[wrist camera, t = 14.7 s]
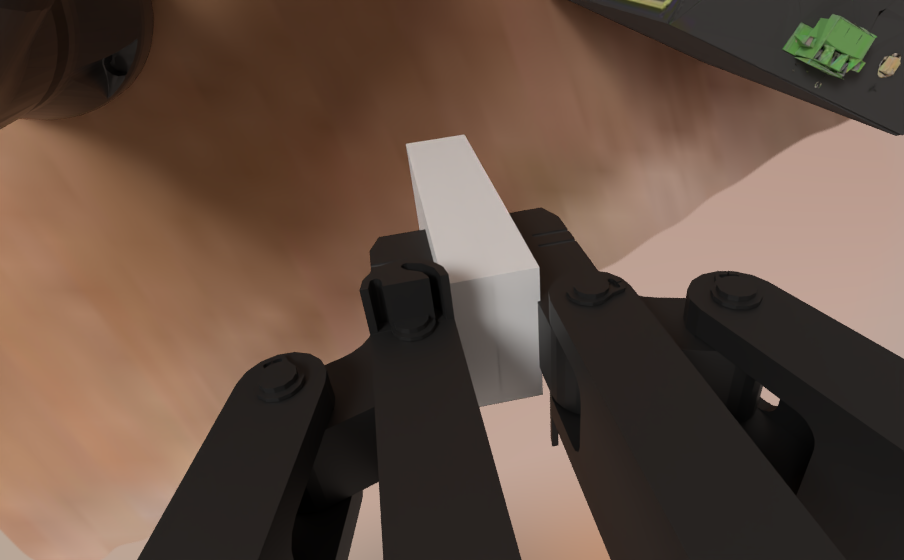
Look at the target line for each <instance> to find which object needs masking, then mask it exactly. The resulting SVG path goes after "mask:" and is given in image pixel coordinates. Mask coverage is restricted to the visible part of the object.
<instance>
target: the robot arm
mask: <svg viewBox="0 0 904 560" xmlns="http://www.w3.org/2000/svg"><path fill="white" fill-rule="evenodd" d="M152 35H153V9H152V2H151V0H0V129H2V128H3V127H5V126H7V125H8V124H10V123H12V122H13V121H15V120H17V119H35V120H56V119H65V118H70V117H75V116H78V115H82V114H85V113H88V112H91V111H93V110H95V109H98V108H100V107H101V106H103V105H105V104H107V103H108V102H109V101H111V100H112V99H114V98H115V97H116V96H118V95H119V94H121V93H122V92H123V91H124V90H125V89H127V88H128V87H129V86H130V85H131V84H132V82H133V81H134V80H135V79H136V77H137V76H138V75H139V73H140V71H141V70H142V68H143V66H144V64H145V62H146V59H147V57H148V54H149V50H150V47H151V42H152ZM406 148H407V154H408V160H409V167H410V173H411V179H412V185H413V192H414V198H415V204H416V210H417V217H418V223H419V229H420V230H418V231H413V232H407V233H401V234H395V235H389V236H383V237H379V238H378V239H377V241H376V242H375V244H374V245H373V247H372V248H371V250H370V262H371V272H370V274H369V275H368V276H367V277H366V278H365V279H364V280H363V281H362V284H361V287H360V294H361V298H362V302H363V306H364V311H365V315H366V319H367V323H368V327H369V331H370V337H369V338H368V339H367V340H366V342H365V343H364V344H363V345H362V346H360V347H359V348H358V349H356V350H355V351H354V352H352V353H350V354H349V355H347V356H345V357H343V358H341V359H338V360H336V361H334V362H331V363H329V364H327V365H324V364H323V362H322V361H321V360H320V359H319V358H317V357H315V356H313V355H311V354H307V353H298V352H293V353H286V354H280V355H276V356H274V357H271V358H269V359H266V360H264V361H261V362H260V363H258V364H257V365H256V366H254V367H253V368H251V369H250V370H248V371H247V372H246V373H245V374H244V375H243V377H242V378H241V379H240V380H239V382H238V383H237V384H236V386H235V387H234V389H233V391H232V393H231V395H230V396H229V398H228V400H227V402H226V403H225V405H224V407H223V409H222V410H221V412H220V414H219V416H218V418H217V419H216V421H215V423H214V425H213V426H212V428H211V430H210V432H209V434H208V435H207V437H206V439H205V441H204V442H203V444H202V446H201V448H200V449H199V451H198V453H197V455H196V457H195V458H194V460H193V462H192V464H191V465H190V467H189V469H188V471H187V473H186V474H185V476H184V478H183V480H182V481H181V483H180V485H179V487H178V488H177V490H176V492H175V494H174V496H173V497H172V499H171V501H170V503H169V504H168V506H167V508H166V510H165V512H164V513H163V515H162V517H161V519H160V520H159V522H158V524H157V526H156V527H155V529H154V531H153V533H152V535H151V536H150V538H149V540H148V542H147V543H146V545H145V547H144V549H143V551H142V552H141V554H140V556H139V558H138V559H137V560H348V556H349V552H350V548H351V543H352V539H353V535H354V531H355V527H356V523H357V518H358V514H359V510H360V506H361V502H362V497H363V490H364V489H365V488H367V487H369V486H371V485H373V484H375V483H377V482H379V492H380V509H381V526H382V542H383V560H521V557H520V553H519V549H518V546H517V542H516V538H515V535H514V531H513V528H512V524H511V520H510V517H509V513H508V510H507V506H506V502H505V499H504V495H503V492H502V488H501V485H500V481H499V477H498V474H497V470H496V466H495V463H494V459H493V455H492V452H491V448H490V445H489V441H488V437H487V434H486V430H485V427H484V423H483V420H482V416H481V412H480V409H479V407H481V406H487V405H492V404H497V403H502V402H507V401H512V400H517V399H522V398H527V397H533V396H538V395H542V394H543V388H542V374H543V376H544V379H545V381H546V383H547V385H548V387H549V390H550V418H551V441H552V446H557V445H558V433H559V435H560V438H561V440H562V442H563V445H564V447H565V450H566V452H567V455H568V457H569V460H570V462H571V464H572V467H573V469H574V472H575V474H576V476H577V479H578V481H579V484H580V486H581V488H582V491H583V493H584V496H585V498H586V501H587V503H588V506H589V508H590V510H591V513H592V515H593V517H594V520H595V522H596V525H597V527H598V530H599V532H600V535H601V537H602V539H603V542H604V544H605V547H606V549H607V551H608V554H609V556H610V559H611V560H904V359H903V358H901V357H900V356H898V355H896V354H894V353H893V352H891V351H889V350H887V349H885V348H884V347H882V346H880V345H879V344H876V343H875V342H873V341H872V340H870V339H868V338H866V337H864V336H863V335H861V334H859V333H857V332H855V331H854V330H852V329H850V328H849V327H847V326H845V325H843V324H842V323H840V322H838V321H836V320H835V319H833V318H831V317H829V316H828V315H826V314H824V313H822V312H820V311H819V310H817V309H815V308H813V307H812V306H810V305H808V304H806V303H805V302H803V301H801V300H799V299H798V298H796V297H794V296H792V295H791V294H789V293H787V292H785V291H784V290H782V289H780V288H778V287H777V286H775V285H773V284H771V283H769V282H768V281H765V280H763V279H760V278H758V277H756V276H753V275H749V274H744V273H739V272H734V271H717V272H712V273H707V274H703V275H701V276H699V277H697V278H695V279H694V280H692V282H691V283H690V285H689V287H688V289H687V296H686V298H654V297H643V296H638V294H637V293H636V292H635V291H634V289H633V288H632V287H631V286H630V285H629V284H628V283H627V282H626V281H624V280H623V279H622V278H620V277H618V276H615V275H612V274H610V273H607V272H600V271H598V270H597V269H596V267H595V266H594V265H593V263H592V262H591V260H590V259H589V258H588V256H587V255H586V254H585V252H584V251H583V249H582V248H581V247H580V245H579V244H578V243H577V241H575V239H574V237H573V236H572V234H571V233H570V232H569V231H567V228H566V226H565V225H564V223H563V222H562V221H561V219H560V218H559V217H558V216H556V215H555V214H553V213H551V212H549V211H547V210H545V209H543V208H536V209H530V210H524V211H519V212H513V213H508V211H507V209H506V207H505V206H504V204H503V202H502V200H501V198H500V197H499V195H498V193H497V191H496V190H495V188H494V186H493V184H492V182H491V181H490V179H489V177H488V175H487V174H486V172H485V170H484V168H483V167H482V165H481V163H480V161H479V159H478V158H477V156H476V154H475V152H474V151H473V149H472V147H471V145H470V144H469V142H468V140H467V138H466V136H465V135H458V136H452V137H446V138H440V139H433V140H427V141H421V142H415V143H408V144H406ZM763 386H764V387H765V388H767V389H768V390H769V391H770V392H772V393H773V394H774V395H776V396H777V397H778V398H780V401H779V405H778V406H773V405H771V404H770V403H768V402H766V401H765V400H763V399H762V398H761V397H760V394H761V391H762V387H763Z"/></svg>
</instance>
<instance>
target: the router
mask: <svg viewBox="0 0 904 560" xmlns="http://www.w3.org/2000/svg"><path fill="white" fill-rule="evenodd" d="M569 1H571V2H574V3H576V4H578V5H580V6H582V7H585V8H587V9H589V10H591V11H593V12H595V13H598V14H600V15H602V16H604V17H606V18H608V19H611V20H613V21H615V22H617V23H619V24H622V25H624V26H626V27H628V28H630V29H632V30H635V31H637V32H639V33H641V34H643V35H646V36H648V37H650V38H652V39H654V40H656V41H659V42H661V43H663V44H665V45H667V46H670V47H672V48H674V49H676V50H678V51H680V52H683V53H685V54H687V55H689V56H691V57H694V58H696V59H698V60H700V61H702V62H704V63H707V64H709V65H712V66H715V67H717V68H720V69H722V70H725V71H728V72H730V73H733V74H736V75H738V76H741V77H743V78H746V79H749V80H751V81H754V82H756V83H759V84H762V85H764V86H767V87H770V88H772V89H775V90H777V91H780V92H783V93H785V94H788V95H790V96H793V97H796V98H798V99H801V100H804V101H806V102H809V103H811V104H814V105H817V106H819V107H822V108H824V109H827V110H830V111H832V112H835V113H838V114H840V115H843V116H845V117H848V118H851V119H853V120H856V121H859V122H861V123H864V124H866V125H869V126H872V127H874V128H877V129H880V130H882V131H885V132H887V133H890V134H893V135H895V136H897V135H904V0H569Z"/></svg>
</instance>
